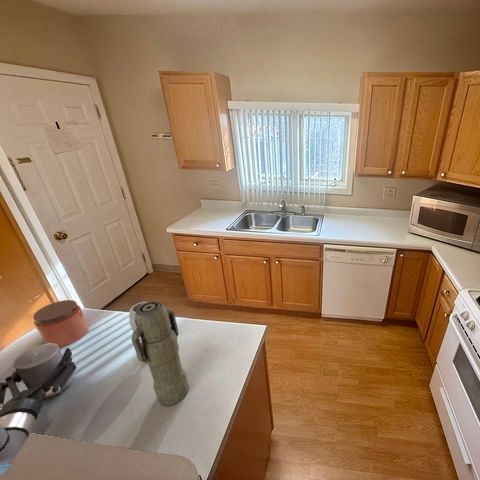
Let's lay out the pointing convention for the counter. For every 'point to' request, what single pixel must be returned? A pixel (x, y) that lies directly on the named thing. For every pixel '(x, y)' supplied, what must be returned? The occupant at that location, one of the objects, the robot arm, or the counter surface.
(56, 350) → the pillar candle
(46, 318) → the jar
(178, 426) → the counter surface
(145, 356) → the thermos
